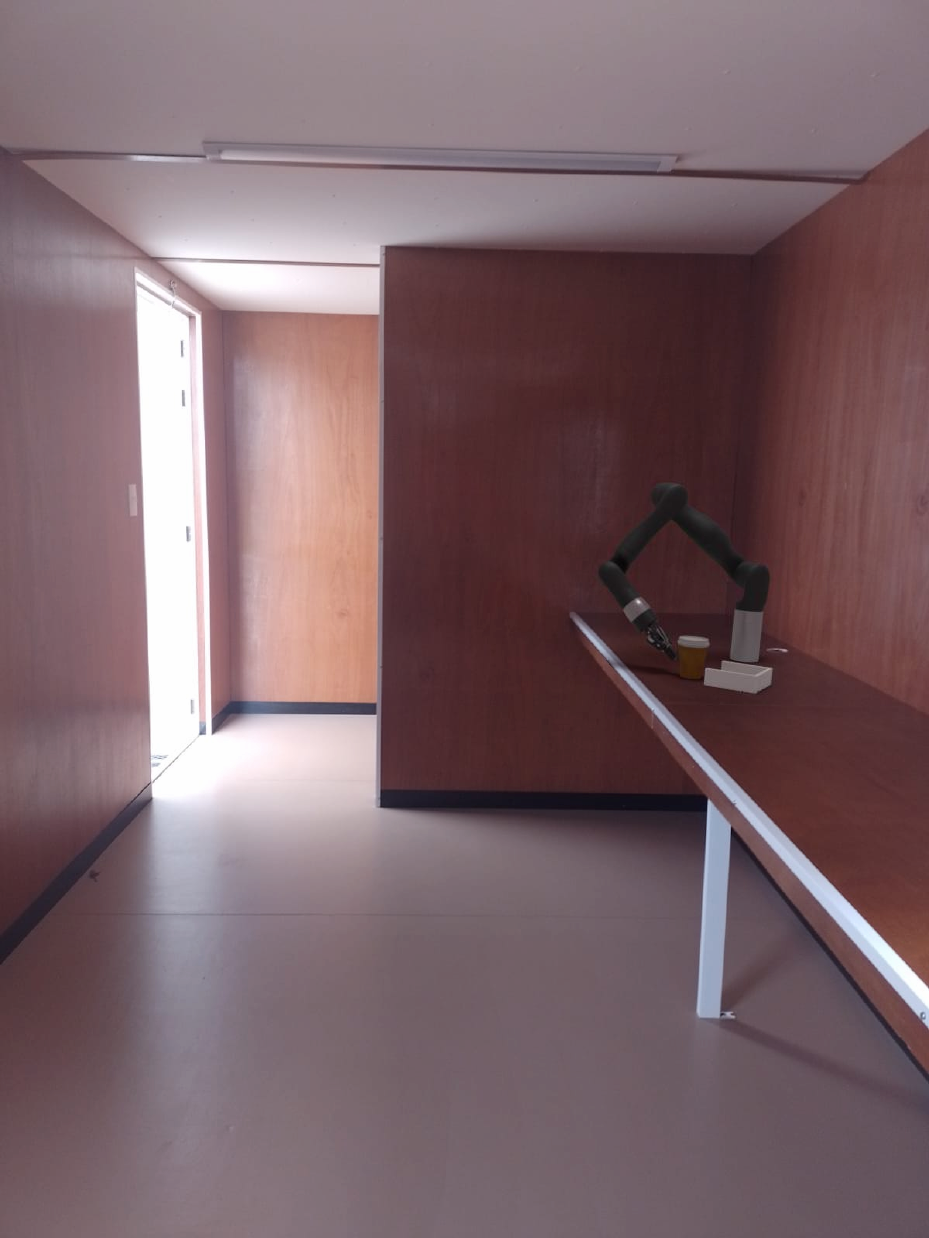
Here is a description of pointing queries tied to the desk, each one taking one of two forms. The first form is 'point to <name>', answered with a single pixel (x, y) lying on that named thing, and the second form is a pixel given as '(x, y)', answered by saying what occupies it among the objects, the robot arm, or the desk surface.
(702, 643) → the disposable coffee cup
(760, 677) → the grey bay
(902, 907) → the desk surface
